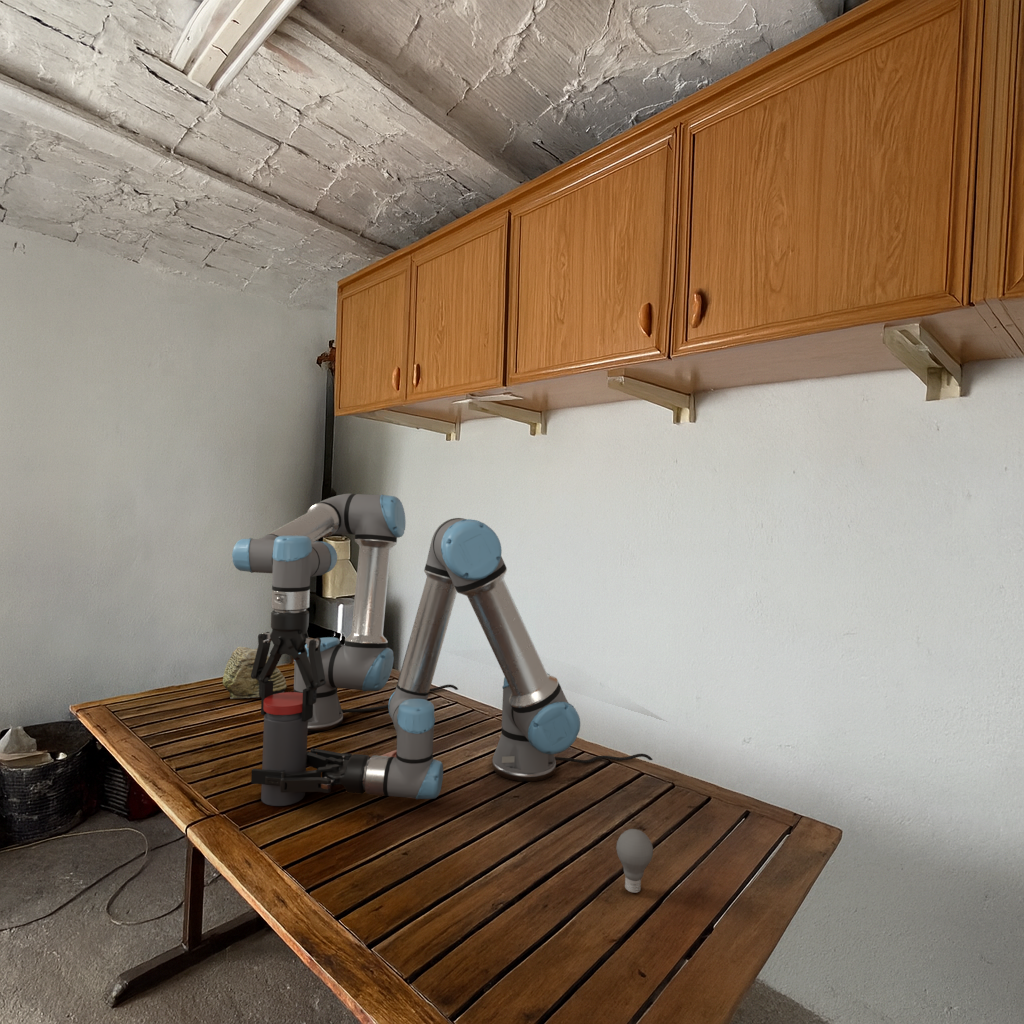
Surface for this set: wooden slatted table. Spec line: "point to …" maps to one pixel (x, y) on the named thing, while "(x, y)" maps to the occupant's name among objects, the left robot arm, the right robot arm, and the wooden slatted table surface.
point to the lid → (283, 703)
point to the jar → (283, 754)
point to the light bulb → (634, 857)
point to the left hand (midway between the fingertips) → (286, 715)
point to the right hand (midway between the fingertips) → (263, 766)
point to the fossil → (247, 675)
